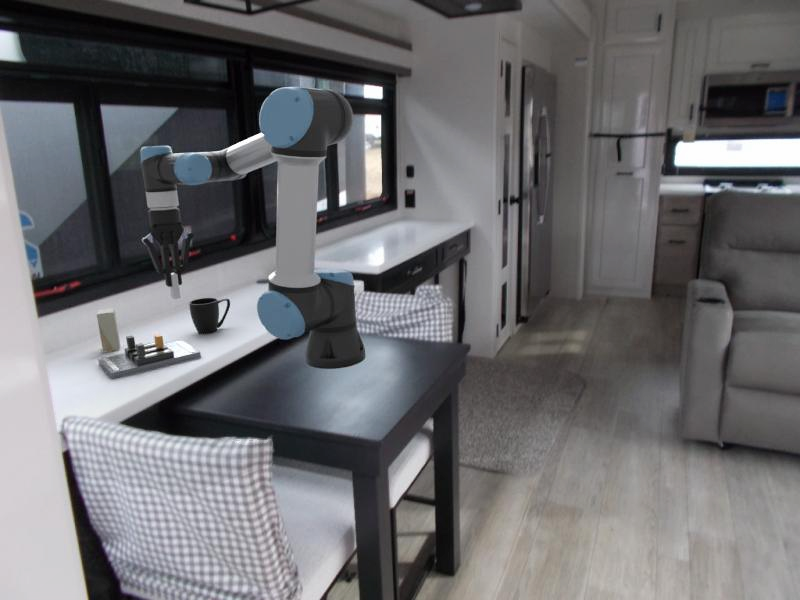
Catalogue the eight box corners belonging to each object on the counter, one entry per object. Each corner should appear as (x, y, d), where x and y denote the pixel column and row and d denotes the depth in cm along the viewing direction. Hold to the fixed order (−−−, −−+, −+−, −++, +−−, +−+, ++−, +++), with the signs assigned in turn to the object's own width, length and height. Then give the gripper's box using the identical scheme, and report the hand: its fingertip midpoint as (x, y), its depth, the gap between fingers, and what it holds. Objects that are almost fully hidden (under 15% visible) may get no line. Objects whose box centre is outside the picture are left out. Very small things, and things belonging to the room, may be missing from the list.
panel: (200, 357, 164) (197, 334, 162) (112, 378, 151) (108, 354, 149) (183, 345, 174) (180, 323, 173) (99, 364, 162) (94, 341, 160)
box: (104, 347, 176) (97, 309, 173) (120, 345, 178) (114, 307, 175) (102, 352, 171) (96, 314, 169) (119, 350, 173) (113, 311, 170)
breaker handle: (163, 346, 163) (162, 335, 162) (158, 347, 162) (156, 336, 161) (161, 344, 165) (159, 334, 164) (155, 346, 164) (154, 335, 163)
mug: (237, 329, 188) (234, 298, 185) (198, 337, 181) (193, 306, 179) (227, 323, 194) (224, 294, 192) (189, 331, 188) (185, 301, 185)
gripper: (184, 204, 165) (195, 291, 171) (132, 209, 157) (146, 299, 163) (194, 206, 159) (205, 295, 165) (141, 211, 151) (155, 305, 157)
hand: (175, 297), depth 164 cm, fingers closed
